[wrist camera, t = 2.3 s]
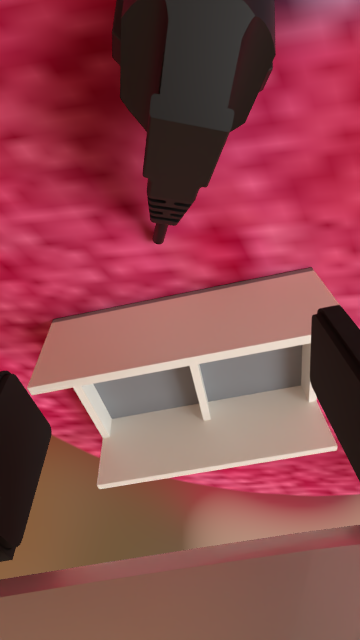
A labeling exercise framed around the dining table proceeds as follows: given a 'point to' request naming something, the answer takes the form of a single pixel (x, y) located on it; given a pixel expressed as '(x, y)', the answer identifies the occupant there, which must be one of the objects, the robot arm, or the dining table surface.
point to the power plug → (189, 87)
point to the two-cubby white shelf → (195, 377)
